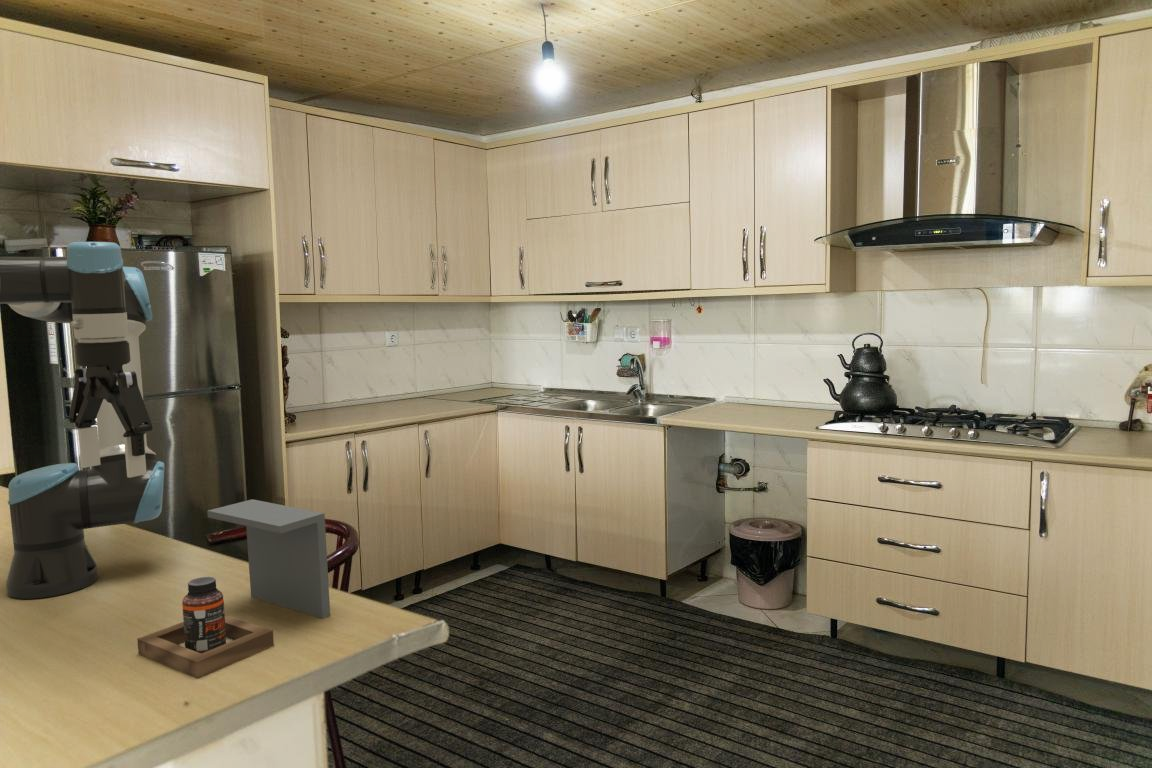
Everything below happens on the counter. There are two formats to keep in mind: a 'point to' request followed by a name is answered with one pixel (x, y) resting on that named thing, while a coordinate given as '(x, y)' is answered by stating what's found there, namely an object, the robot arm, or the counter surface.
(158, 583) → the counter surface
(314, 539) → the grey l-shaped bracket
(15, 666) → the counter surface
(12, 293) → the robot arm
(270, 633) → the wooden frame
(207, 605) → the supplement bottle
